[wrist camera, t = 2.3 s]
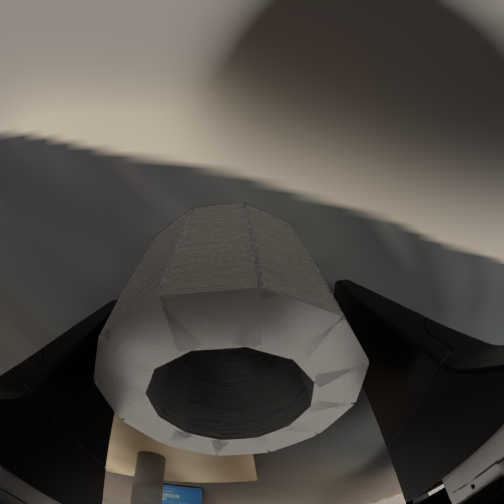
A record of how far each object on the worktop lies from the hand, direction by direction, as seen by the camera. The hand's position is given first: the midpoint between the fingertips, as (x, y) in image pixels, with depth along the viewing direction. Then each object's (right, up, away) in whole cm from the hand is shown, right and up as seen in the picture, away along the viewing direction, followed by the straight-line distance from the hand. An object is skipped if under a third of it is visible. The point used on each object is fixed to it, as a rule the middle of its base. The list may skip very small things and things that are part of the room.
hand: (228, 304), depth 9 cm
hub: (0, 0, +1) cm, 1 cm away
